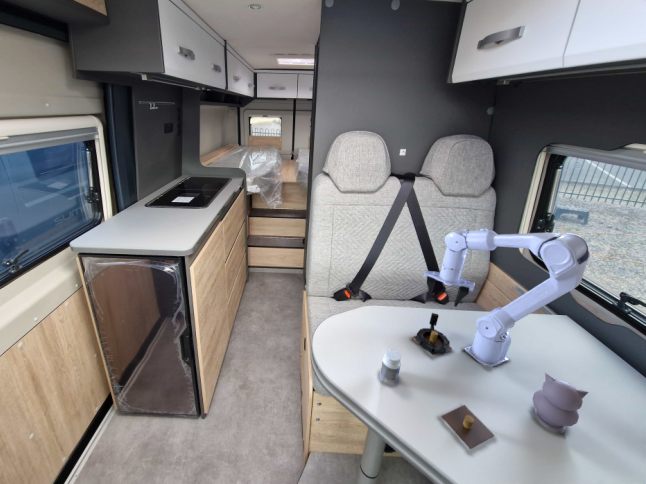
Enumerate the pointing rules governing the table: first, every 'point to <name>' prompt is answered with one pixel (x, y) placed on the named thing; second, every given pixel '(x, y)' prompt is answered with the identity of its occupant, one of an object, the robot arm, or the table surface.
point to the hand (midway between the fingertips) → (442, 301)
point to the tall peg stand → (432, 341)
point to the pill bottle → (390, 366)
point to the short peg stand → (467, 426)
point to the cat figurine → (558, 403)
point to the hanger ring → (427, 331)
